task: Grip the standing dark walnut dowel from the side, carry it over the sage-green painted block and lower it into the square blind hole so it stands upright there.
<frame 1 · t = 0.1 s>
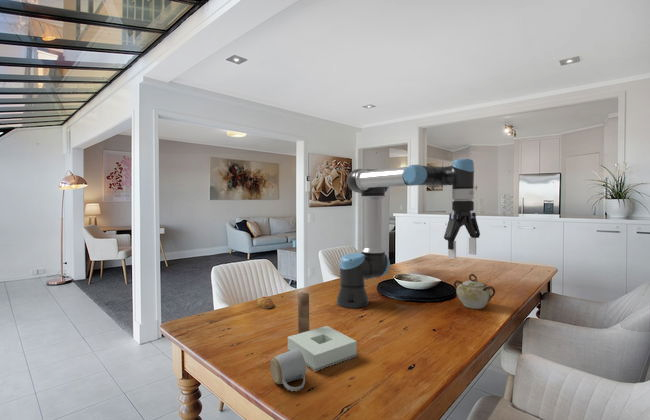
hand: (462, 256, 126), 28 cm above the table, tool pointing down, fingers open, 13 cm apart
socket block: (321, 354, 107), on the table
dowel: (303, 338, 119), on the table
ceramic mug: (290, 382, 91), on the table
sugar bowl: (473, 306, 153), on the table
tan rounded lump: (266, 306, 156), on the table
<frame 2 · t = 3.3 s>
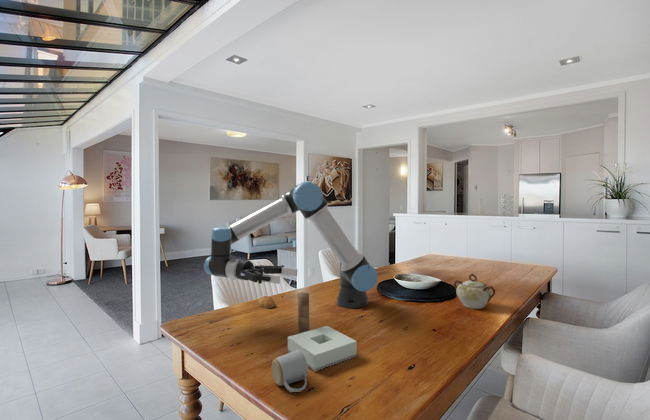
hand: (288, 276, 121), 22 cm above the table, tool horizontal, fingers open, 13 cm apart
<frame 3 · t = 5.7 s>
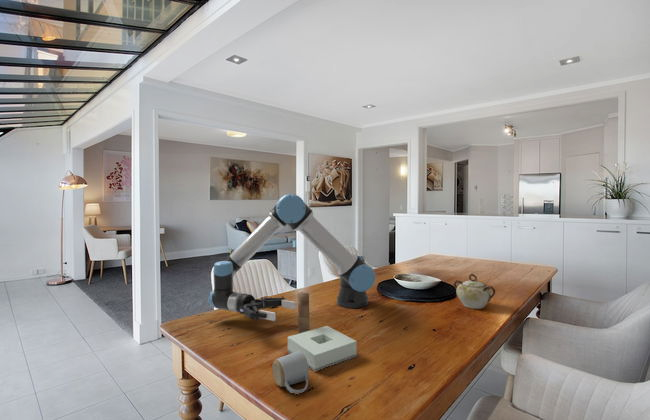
hand: (286, 311, 122), 9 cm above the table, tool horizontal, fingers open, 13 cm apart
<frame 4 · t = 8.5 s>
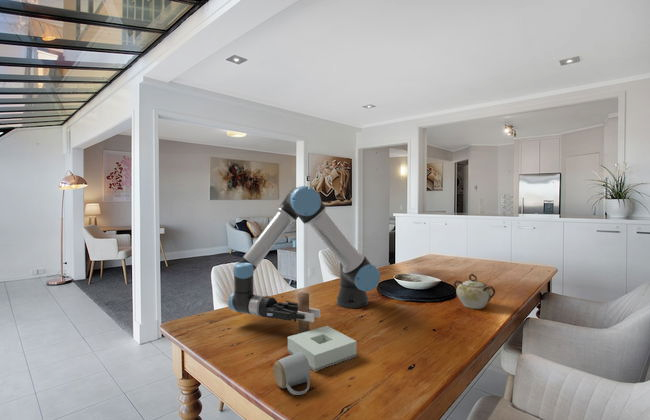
hand: (316, 315, 117), 9 cm above the table, tool horizontal, fingers closed on dowel, 4 cm apart
dowel: (303, 338, 119), on the table, touching gripper
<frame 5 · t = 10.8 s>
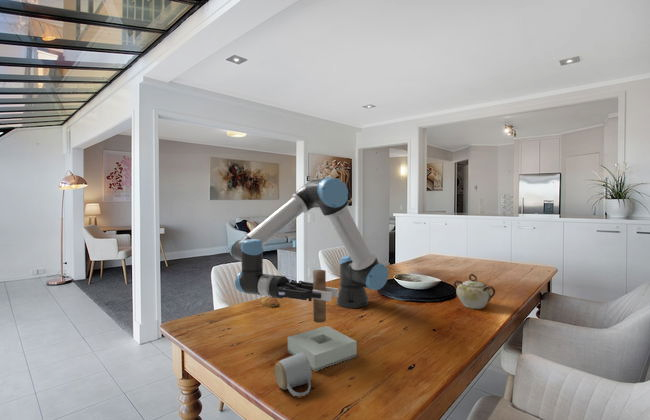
hand: (334, 294, 104), 20 cm above the table, tool horizontal, fingers closed on dowel, 4 cm apart
dowel: (319, 320, 107), point 11 cm above the table, touching gripper
when the fingers open (11 cm above the table, at t = 13.2 s): dowel stays where it is, resting on socket block.
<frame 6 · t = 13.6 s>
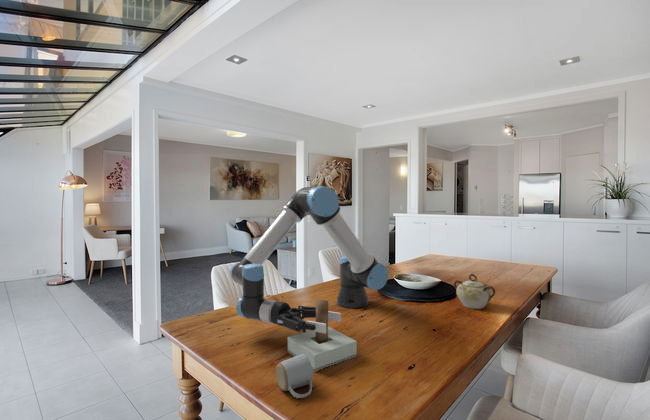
hand: (333, 322, 104), 11 cm above the table, tool horizontal, fingers open, 10 cm apart
dowel: (321, 350, 107), point 1 cm above the table, touching socket block
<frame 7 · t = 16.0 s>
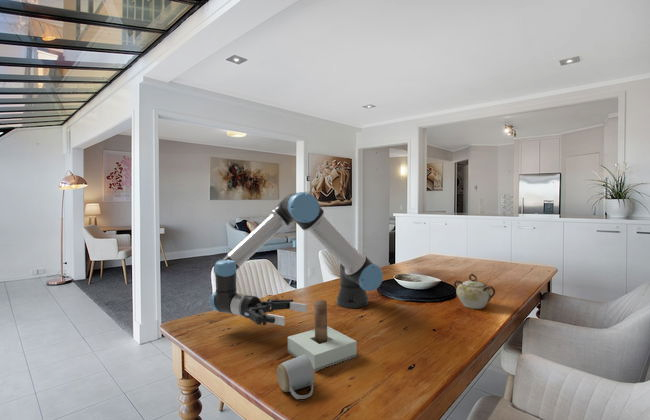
hand: (295, 314, 111), 11 cm above the table, tool horizontal, fingers open, 13 cm apart
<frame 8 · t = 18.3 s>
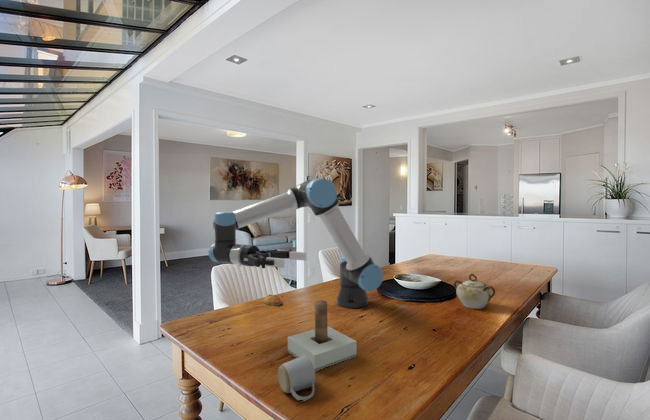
hand: (295, 259, 110), 30 cm above the table, tool horizontal, fingers open, 13 cm apart
at the end: dowel 0.1 cm off-centre on the socket block, point 1.0 cm above the socket block's base; dowel tilted 1°; the gripper is holding nothing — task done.
